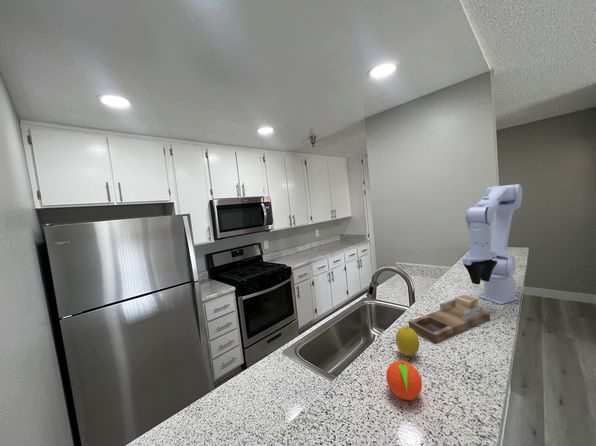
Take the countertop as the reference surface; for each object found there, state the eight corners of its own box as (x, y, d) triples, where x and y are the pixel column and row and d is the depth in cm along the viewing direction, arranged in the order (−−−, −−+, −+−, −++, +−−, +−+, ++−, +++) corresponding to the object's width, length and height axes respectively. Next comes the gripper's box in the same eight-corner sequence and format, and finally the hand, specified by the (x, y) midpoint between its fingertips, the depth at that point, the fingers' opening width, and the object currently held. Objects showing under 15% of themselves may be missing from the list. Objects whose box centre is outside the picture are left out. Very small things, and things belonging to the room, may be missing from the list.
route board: (461, 309, 83) (461, 302, 83) (490, 319, 75) (489, 312, 75) (408, 329, 74) (408, 321, 74) (435, 343, 66) (434, 335, 65)
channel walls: (455, 305, 81) (454, 298, 81) (480, 314, 74) (480, 307, 74) (440, 310, 78) (439, 303, 78) (465, 321, 71) (465, 313, 71)
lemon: (422, 363, 59) (421, 332, 58) (399, 362, 60) (397, 332, 59) (416, 349, 64) (414, 321, 63) (394, 348, 65) (393, 321, 65)
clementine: (428, 416, 45) (426, 381, 44) (389, 410, 47) (387, 377, 46) (418, 384, 52) (417, 354, 52) (385, 380, 54) (383, 351, 54)
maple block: (464, 305, 80) (464, 294, 80) (479, 310, 76) (478, 298, 76) (455, 309, 79) (455, 297, 78) (470, 314, 75) (469, 302, 74)
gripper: (480, 238, 85) (481, 275, 86) (453, 243, 79) (454, 283, 80) (503, 240, 78) (504, 280, 79) (475, 246, 73) (476, 289, 74)
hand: (480, 282), depth 79 cm, fingers open, 4 cm apart
